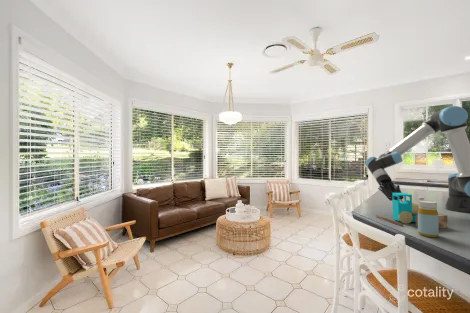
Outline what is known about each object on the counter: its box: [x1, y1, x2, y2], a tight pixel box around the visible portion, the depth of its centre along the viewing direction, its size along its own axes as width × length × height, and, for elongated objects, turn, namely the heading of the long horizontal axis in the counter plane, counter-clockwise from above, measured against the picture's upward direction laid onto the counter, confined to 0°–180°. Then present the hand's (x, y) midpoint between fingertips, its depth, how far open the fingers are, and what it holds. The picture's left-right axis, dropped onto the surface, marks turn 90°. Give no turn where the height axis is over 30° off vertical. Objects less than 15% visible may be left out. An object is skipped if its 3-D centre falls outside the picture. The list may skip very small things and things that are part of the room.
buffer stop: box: [415, 213, 448, 229], centre depth 114 cm, size 14×5×6 cm, turn 96°
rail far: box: [375, 214, 404, 227], centre depth 125 cm, size 1×18×1 cm, turn 5°
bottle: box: [417, 199, 440, 238], centre depth 103 cm, size 7×7×15 cm
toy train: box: [392, 192, 425, 225], centre depth 123 cm, size 8×17×15 cm, turn 79°
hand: (404, 210), depth 128 cm, fingers closed
